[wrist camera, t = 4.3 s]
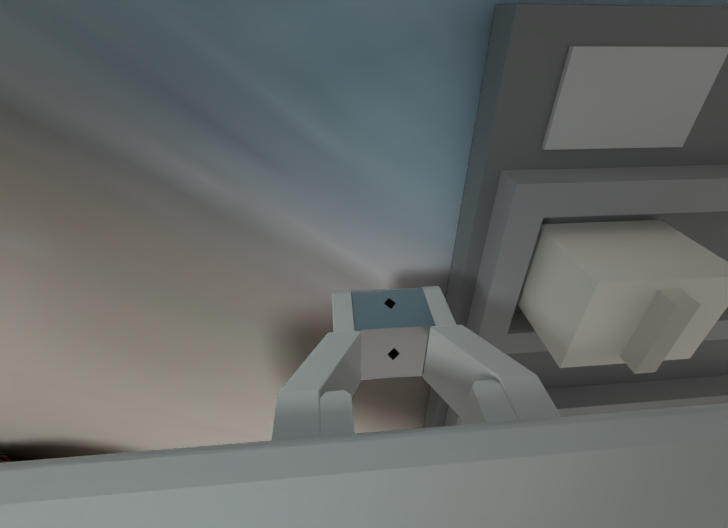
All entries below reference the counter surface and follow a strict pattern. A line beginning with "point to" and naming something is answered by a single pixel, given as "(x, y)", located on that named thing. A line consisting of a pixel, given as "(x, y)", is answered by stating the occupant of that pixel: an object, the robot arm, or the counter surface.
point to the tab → (622, 293)
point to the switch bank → (593, 177)
